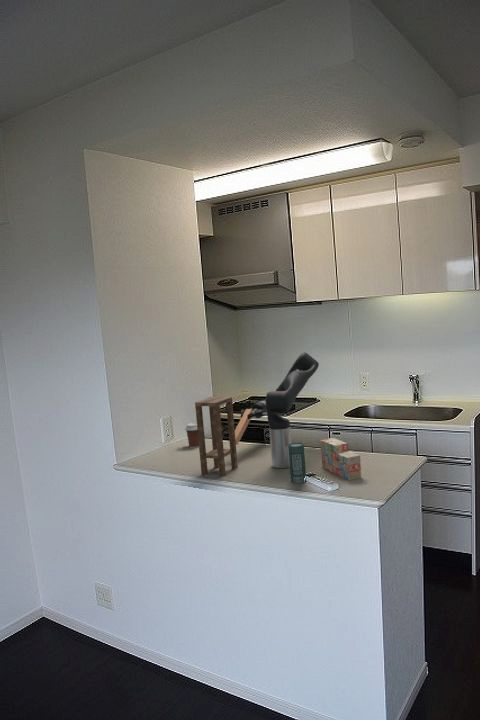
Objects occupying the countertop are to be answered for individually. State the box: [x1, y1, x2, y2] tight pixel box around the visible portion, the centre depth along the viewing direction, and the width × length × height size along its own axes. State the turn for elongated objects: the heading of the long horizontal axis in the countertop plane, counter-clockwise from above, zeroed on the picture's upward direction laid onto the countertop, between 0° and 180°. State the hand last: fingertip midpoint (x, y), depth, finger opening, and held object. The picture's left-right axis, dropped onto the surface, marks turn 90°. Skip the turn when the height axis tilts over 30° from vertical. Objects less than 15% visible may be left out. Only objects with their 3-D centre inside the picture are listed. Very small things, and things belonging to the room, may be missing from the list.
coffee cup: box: [184, 422, 199, 449], centre depth 296 cm, size 9×9×12 cm
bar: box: [235, 408, 253, 446], centre depth 269 cm, size 21×3×3 cm
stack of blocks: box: [319, 437, 362, 481], centre depth 234 cm, size 21×6×12 cm, turn 20°
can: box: [288, 442, 307, 484], centre depth 227 cm, size 6×6×15 cm
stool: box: [194, 396, 239, 477], centre depth 248 cm, size 11×13×32 cm
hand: (244, 416), depth 272 cm, fingers closed on bar, 3 cm apart
